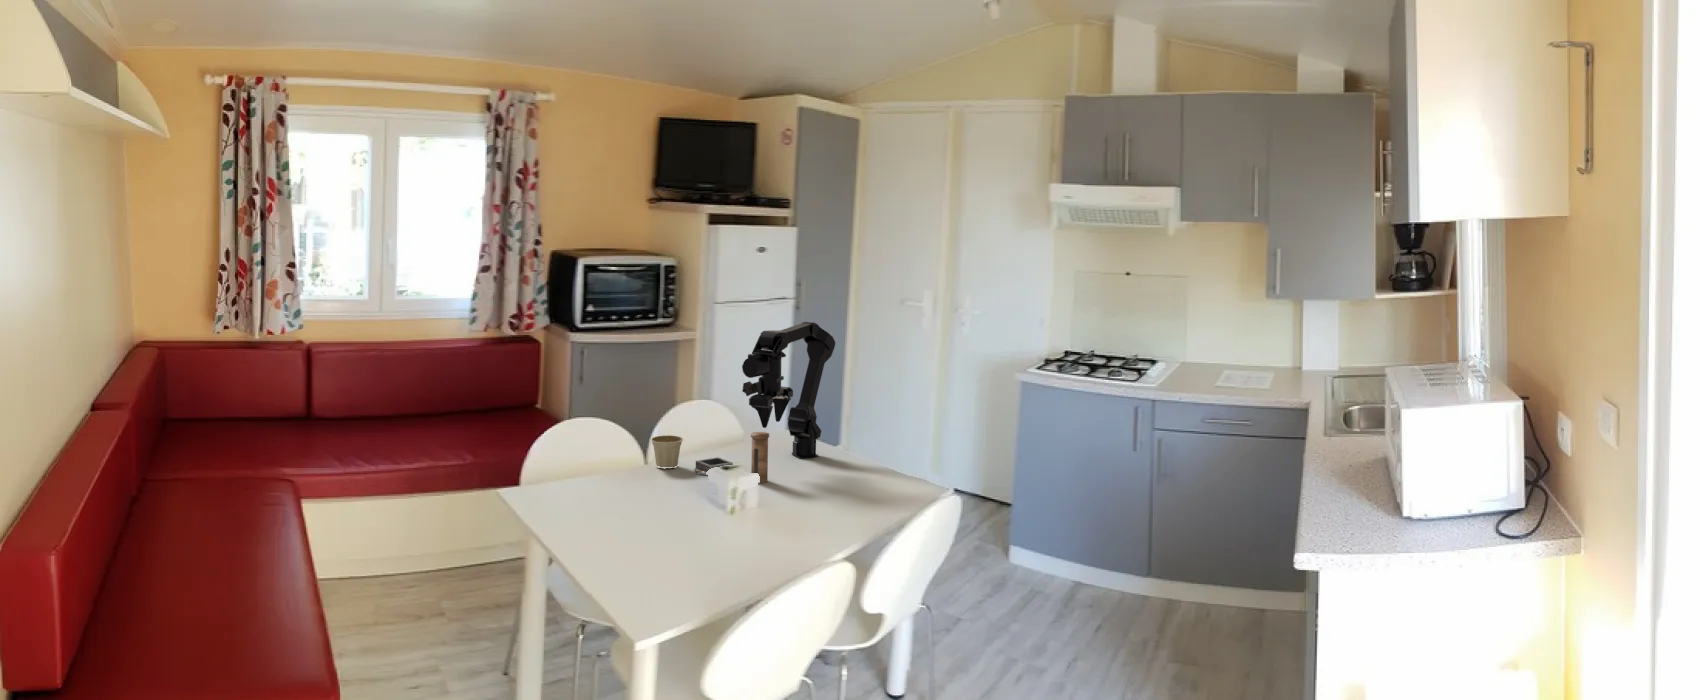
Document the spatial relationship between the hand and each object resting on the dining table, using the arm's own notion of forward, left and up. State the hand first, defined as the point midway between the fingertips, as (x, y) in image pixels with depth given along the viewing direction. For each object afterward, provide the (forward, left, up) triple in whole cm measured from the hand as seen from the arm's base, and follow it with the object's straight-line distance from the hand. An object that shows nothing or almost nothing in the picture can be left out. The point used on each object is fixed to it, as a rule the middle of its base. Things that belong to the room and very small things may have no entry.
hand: (771, 424), depth 307 cm
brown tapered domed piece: (+10, +14, -13) cm, 21 cm away
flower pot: (+29, -11, -13) cm, 33 cm away
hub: (+18, -2, -13) cm, 22 cm away
